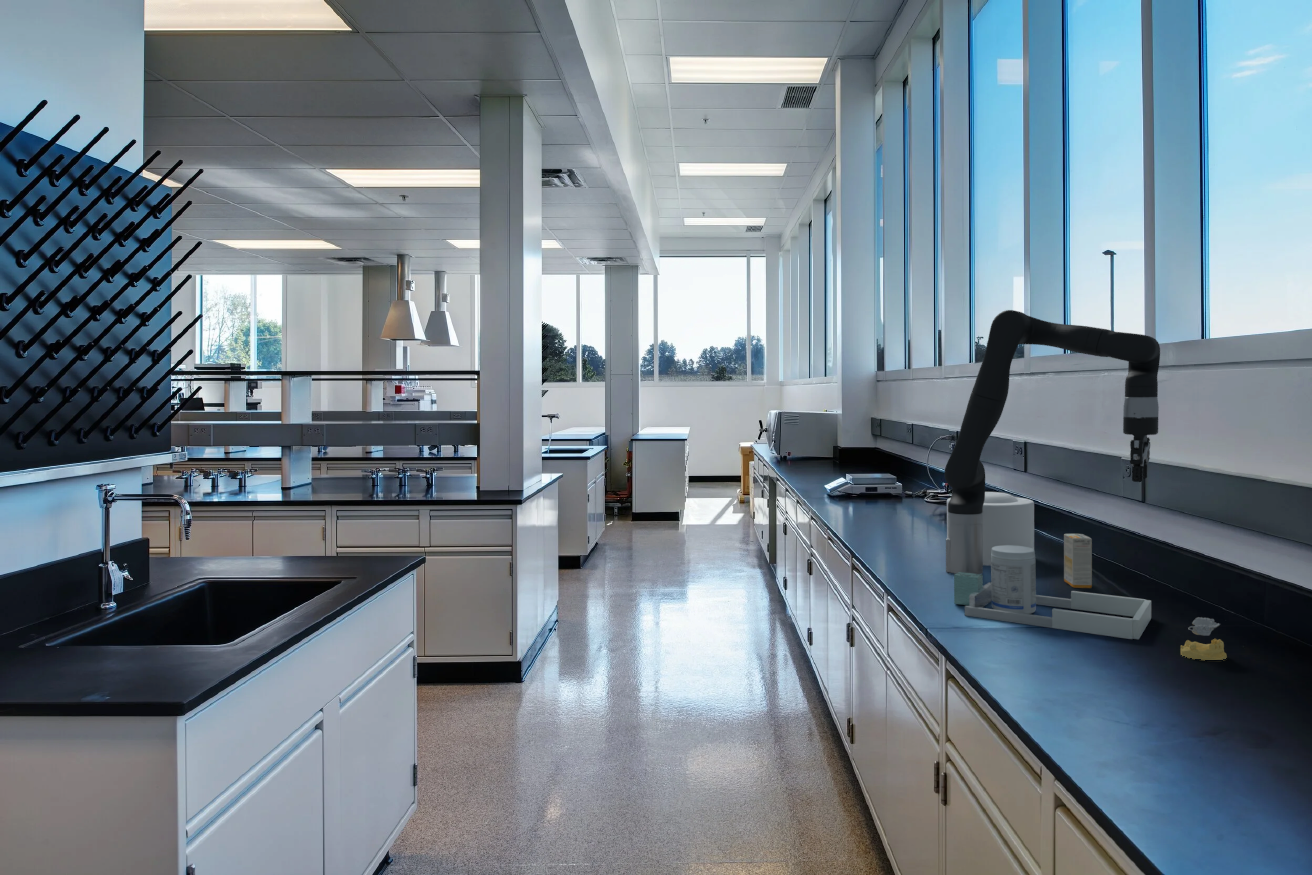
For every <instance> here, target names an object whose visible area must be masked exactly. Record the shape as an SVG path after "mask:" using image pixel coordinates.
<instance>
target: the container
mask: <svg viewBox="0 0 1312 875" xmlns="http://www.w3.org/2000/svg"><path fill="white" fill-rule="evenodd" d="M950 499H951V497H949V498H947V500H946V539H947V538H948V503H949V501H950ZM982 513H983V566H988V567H989V566H990V567H991V553H992V548H993V547H995V546H1003V545H1014V546H1024V547H1029V548H1032V549H1034V550H1035V502H1034V501H1033V500H1032V499H1029V498H1025V497H1018V496H1014V495H1012V494H1010V493H1006V492H1000V491H999V492H997V491H985V500H984V504H983V512H982Z"/></svg>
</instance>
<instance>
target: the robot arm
mask: <svg viewBox="0 0 1312 875" xmlns="http://www.w3.org/2000/svg"><path fill="white" fill-rule="evenodd" d="M986 343H987V344H986V347H985V352H984V356H983V358H982V362H981V365H980V367H979V369H978V370H979V371H978V373H977V376H976V379H975V382H974V385H973V387H972V389H971V393H970V396H969V399H968V403H967V406H966V410H965V413H964V415H963V418H962V422H961V425H960V429H959V433H958V437H957V440H956V443H955V444H954V447H953V449H952V451H951V454H950V456H949V457H948V460H947V463H946V465H945V468H944V479H945V481H946V483H947V485H948V486H949V487H950V488H951V496H950V498H951V499H950V501H949V503H948V538H947V537H946V539H945V573H950V574H953V575H955V574H957V573H959V572H964V573H973V574H982V575H983V573H984V569H983V568H984V565H983V513H982V512H983V504H984V500H985V492H986V470H985V469H986V468H985V467H984V464H983V462H982V461H981V456H982V452H983V449H984V447H985V444H986V443H987V440H989V438H990V436H991V434H992V433H993V431H994V430H995V428H996V426H997V425H998V423H999V422H1000V419H1001V416H1002V414H1003V411H1004V409H1005V405H1006V402H1007V399H1008V395H1009V389H1010V374H1011V364H1012V361H1013V359H1014V356H1015V353H1016V351H1017V348H1018V346H1019V345H1035V346H1037V345H1039V346H1047V347H1053V348H1058V349H1061V350H1065V351H1070V352H1074V353H1079V354H1083V355H1089V356H1095V357H1100V358H1101V357H1102V358H1111V359H1117V360H1120V361H1124V362H1128V363H1127V364H1128V365H1127V366H1128V368H1127V369H1128V370H1127V375H1126V378H1125V382H1124V383H1125V384H1124V402H1123V409H1122V410H1123V418H1122V419H1123V420H1122V421H1123V422H1122V423H1123V424H1122V426H1123V427H1122V433H1123V434H1124V435H1130V436H1133V437H1132V438H1133V439H1130V441H1129V442H1130V443H1129V447H1130V454H1129V456H1130V460H1129V464H1130V466H1131V481H1132V482H1133V483H1134V482H1135V483H1142V482H1143V481H1144V479H1145V480H1146V479H1148V464H1149V462H1150V460H1151V457H1150V455H1151V442H1150V441H1151V438H1150V436H1155V435H1158V434H1159V411H1160V410H1159V408H1160V406H1159V398H1158V392H1159V391H1158V390H1159V389H1158V387H1159V386H1158V385H1159V384H1158V383H1159V382H1158V373H1159V367H1160V361H1161V347H1160V343H1159V341H1158V340H1157V339H1156V338H1154V337H1153V336H1149V335H1146V334H1141V333H1139V334H1138V333H1132V332H1123V331H1122V332H1120V331H1115V330H1111V329H1106V328H1102V327H1101V328H1100V327H1095V326H1088V325H1087V326H1086V325H1085V326H1084V325H1077V324H1063V323H1057V322H1051V321H1048V320H1047V321H1046V320H1042V319H1039V318H1036V317H1033V316H1030V315H1028V314H1026V313H1024V312H1022V311H1017V310H1013V309H1005V310H1004V311H1001V312H999V313H998V314H997V315H996V316H995V317H994V318H993V320H992V323H991V326H990V329H989V334H988V337H987V342H986ZM1148 436H1149V437H1148Z"/></svg>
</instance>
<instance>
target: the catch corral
mask: <svg viewBox="0 0 1312 875" xmlns="http://www.w3.org/2000/svg"><path fill="white" fill-rule="evenodd" d="M1070 599H1071V609H1072V610H1071V609H1070V610H1068V609H1061V608H1052V610H1051V617H1052V628H1051V629H1056V630H1057V629H1058V630H1065V631H1071V632H1078V633H1086V634H1092V635H1098V636H1106V637H1107V636H1108V637H1112V638H1113V637H1114V638H1121V639H1128V640H1133V639H1134V640H1140V638H1141V636H1142V635H1143V632H1144V631H1145V630H1146V627H1147V626H1148V624H1149V623H1150V621H1151V619H1152V600H1150V599H1144V598H1137V597H1129V596H1121V595H1111V594H1102V593H1095V592H1086V591H1085V592H1084V591H1076V590H1071V591H1070ZM1075 610H1077V611H1075ZM1078 610H1080V611H1078ZM1083 611H1087V612H1083ZM1092 612H1095V613H1092ZM1099 613H1102V614H1099ZM1106 614H1107V615H1106ZM1108 614H1109V615H1108ZM1115 615H1117V616H1115ZM1121 616H1123V617H1121ZM1130 617H1132V618H1130Z"/></svg>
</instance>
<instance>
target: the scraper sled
mask: <svg viewBox="0 0 1312 875" xmlns="http://www.w3.org/2000/svg"><path fill="white" fill-rule="evenodd" d="M983 577H984V576H983V573H982V574H973V573H964V572H959V573H957V574H953V584H954V585H953V593H954V594H953V595H954V596H953V597H954V598H953V601H954V602H953V603H954V604H956V605H961V606H972V607H980V608H985V606H987V605H988V604H989V603H992V588H991V581H990V582H989V581H988V582H987V583H986V584H984V581H983V579H984V578H983ZM983 584H984V585H983Z"/></svg>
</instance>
